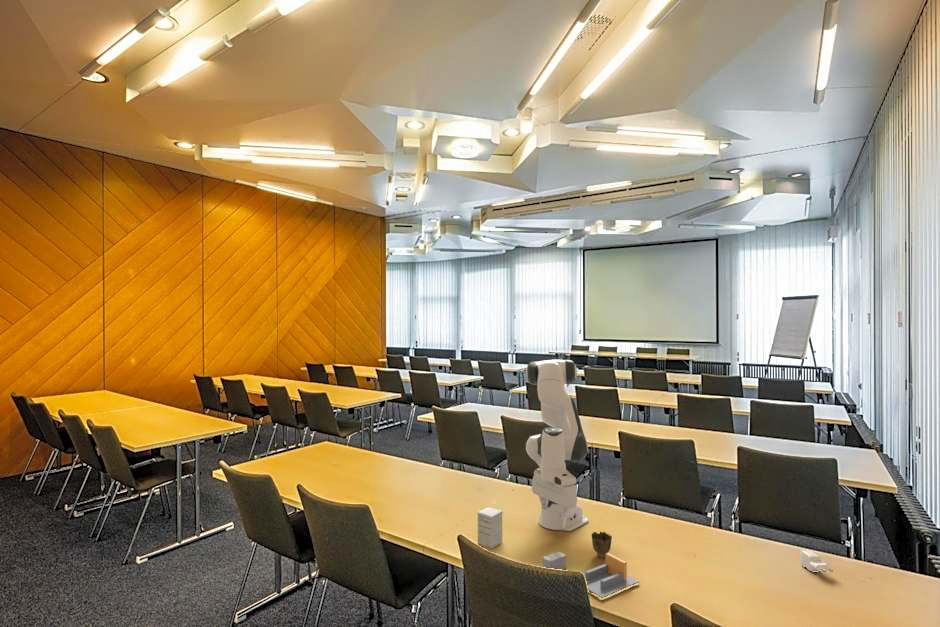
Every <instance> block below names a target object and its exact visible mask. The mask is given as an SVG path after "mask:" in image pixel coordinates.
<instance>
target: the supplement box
mask: <svg viewBox="0 0 940 627" xmlns="http://www.w3.org/2000/svg"><path fill="white" fill-rule="evenodd" d="M502 543H503V510H500V509H496V508H493V507H490V506H487V507H486V508H484V509H481V510H479V511H477V544H478V545H481V546H483V547H487V548H489V549H493V548H495V547H497V546H499V545H501V544H502Z"/></svg>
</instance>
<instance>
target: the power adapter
mask: <svg viewBox="0 0 940 627" xmlns="http://www.w3.org/2000/svg"><path fill="white" fill-rule="evenodd" d="M799 558H800V566H801V565H803V566H804V567H806V568H807V569H809V570H811V571H819V570H821V571H822V572H824V573H827V570H828V571H829V572H830V573H833V572H834V570H833V569H832V568H830V566H829V565H828V564H827V563H826V562H823V561H822V558H821V556H820V555H818V554H817V553H815V552H814V551H812V550H810V549H808V550H806V549H804V550H801V551H800V557H799ZM804 567H803V568H804ZM807 569H806V570H807Z"/></svg>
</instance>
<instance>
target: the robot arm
mask: <svg viewBox="0 0 940 627" xmlns="http://www.w3.org/2000/svg"><path fill="white" fill-rule="evenodd" d="M525 375H526V376H525V377H526V379H527V381H528V383H529V384H530V385H532V386H537V387H536V388H537V397H538V400H539V402H540V409H541V410H540V413H541V414H540V415H541V419H542V421H543V423H544V424H545V425H548V426H549V427H545V428H544V429H543V430H542V433H539V434H534V435H531V436H529V438H528V439H527V441H526V443H525V451H526V453H527V455H528V456H529V457H530V459H532V460H533V461H534V463H536V464H537V466H538V467H539V468H536V469H535V470H534V471H533V476H532V481H531V482H532V483H531V492H532V493H533V494H534V495H537V496H538V499H539V502H540V504H541V507H540V508H541V509H540V513H539V519H538V524H539V525H540V526H541V527H543V528H546V529H547V530H548V529H549V530H554V531H565V532H566V531H567V532H570V531H573V530H575V529H578V528H579V527H581V526H583V525H585V524H588V523H589V519H588V518H587V517H586V516H585V515H584V513H583V509H582V507H581V505H579V504H578V492H577V490H578V489H577V487H576V485H575V484H577V478H576V477H575V476H574V475H573V474H572V473H570V471H568V469H567V468H566V466H567V464H566V461H573V462H574V461H575V462H581V461H582V460H583V459H585V458H586V456H587V455H588V450H589V446H588V441H587V438H586V436H585V433H584V431H583V427H582V423H581V419H580V415H579V412H578V408H577V406H576V402H575V400H574V398H573V396H570V395H569V394H568V393H567V391H566V388H565V387H567V388H568V387H569V386H570V385H572V384H573V383H574V382H575V381H576V379H577V376H578V368H577V365H576V364H575V361H574V360H571V359H546V360H545V359H544V360H539V361H538V360H537V361H536V360H534V361H530V362H529V363H528V364H527V366H526V369H525ZM565 385H566V386H565Z"/></svg>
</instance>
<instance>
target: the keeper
mask: <svg viewBox="0 0 940 627" xmlns="http://www.w3.org/2000/svg"><path fill="white" fill-rule="evenodd" d="M627 563H628V561H626V560H623V559H621V557H617V556H615V555H614V554H612V553H610V552H608V553H606V557H605V563H604V564H602V565H599V566H596V567H594V568H591V569H588V570H585V572H583V573H582V574H584V576H585V578H586V581H587V586H588V590H589V592H590V593H594V594H596V595H598V596H599V597H601V598H603V597H606V596H608V595H610V594H613V593H615V592H617V591H619V590H622V589H624V588H626V587H628V586H631V585H634V584H636V583H639V584H640V581H639V580H637V579H635V578H634V577H632V576H630V575H627V571H628V570H627Z"/></svg>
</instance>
